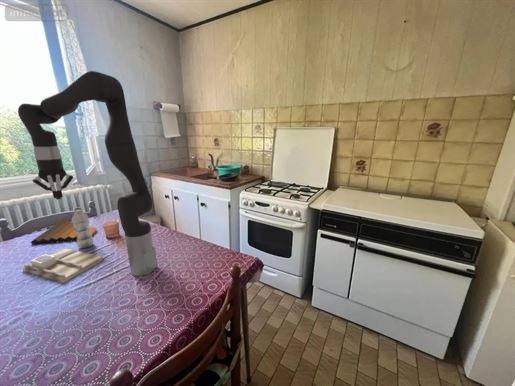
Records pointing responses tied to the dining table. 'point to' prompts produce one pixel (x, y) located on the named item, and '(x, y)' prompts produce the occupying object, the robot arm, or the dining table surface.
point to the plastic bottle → (82, 228)
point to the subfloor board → (65, 265)
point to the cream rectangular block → (43, 261)
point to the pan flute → (59, 233)
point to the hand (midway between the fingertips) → (58, 198)
